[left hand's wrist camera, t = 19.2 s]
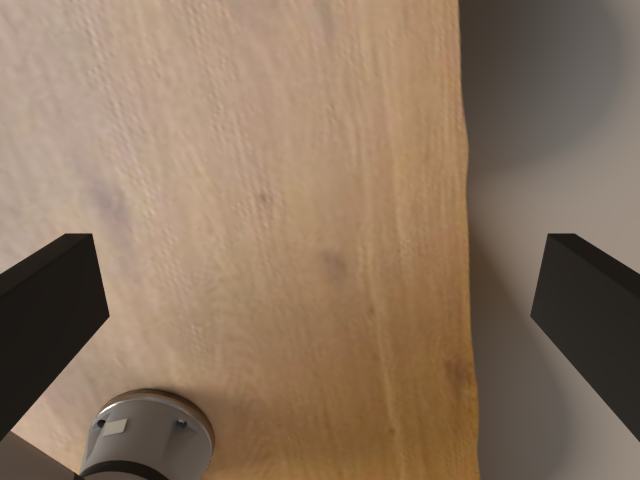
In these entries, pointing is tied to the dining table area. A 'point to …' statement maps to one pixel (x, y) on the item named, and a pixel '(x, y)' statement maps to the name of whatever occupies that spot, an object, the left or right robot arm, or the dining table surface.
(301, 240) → the dining table surface
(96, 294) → the left robot arm
